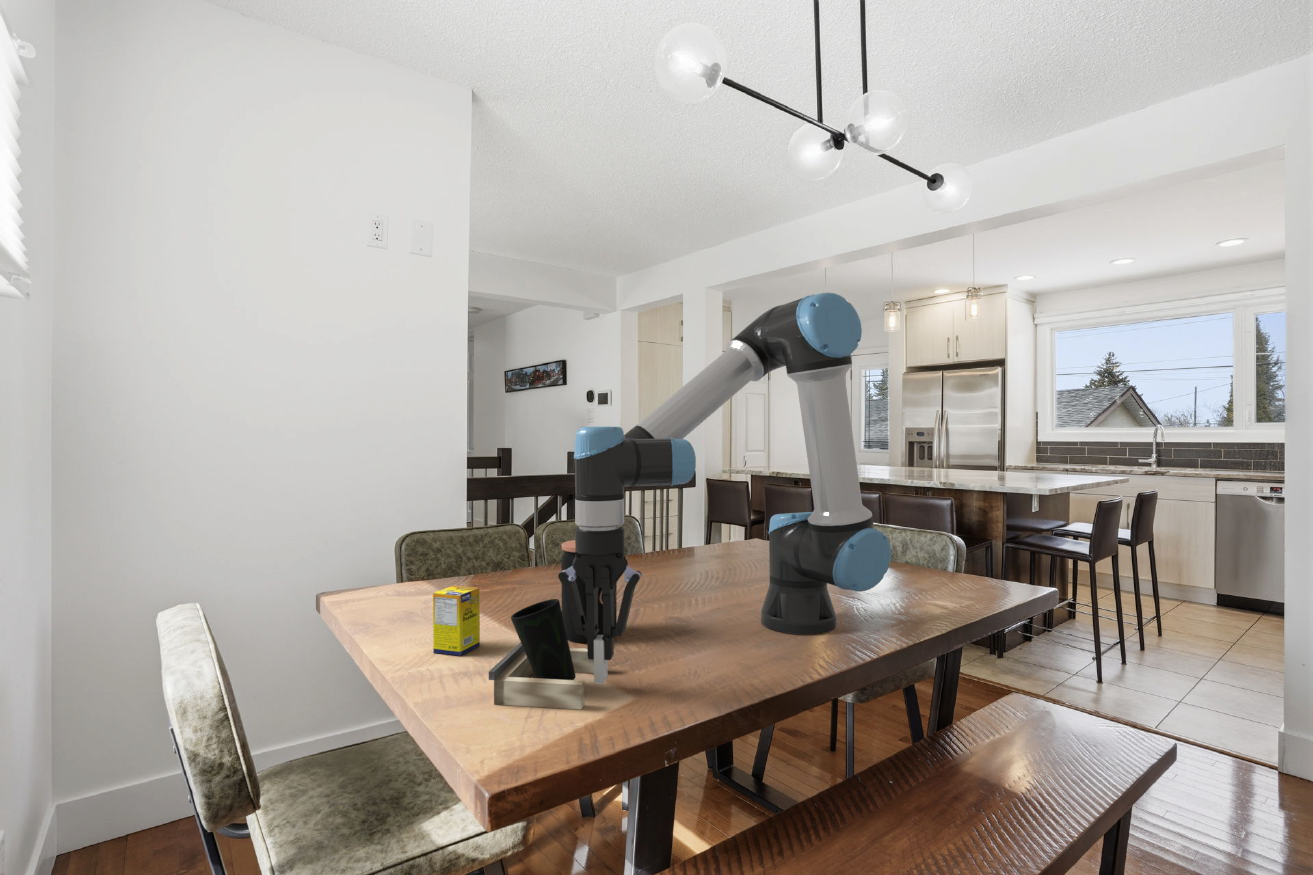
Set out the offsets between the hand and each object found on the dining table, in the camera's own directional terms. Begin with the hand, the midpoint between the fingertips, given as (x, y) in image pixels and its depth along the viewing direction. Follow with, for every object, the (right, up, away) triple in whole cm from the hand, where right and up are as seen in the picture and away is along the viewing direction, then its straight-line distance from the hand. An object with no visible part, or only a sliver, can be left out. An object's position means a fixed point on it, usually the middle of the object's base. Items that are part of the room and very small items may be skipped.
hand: (600, 679), depth 96 cm
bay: (-7, -1, +1) cm, 7 cm away
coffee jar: (-5, -2, +26) cm, 26 cm away
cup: (-7, -1, 0) cm, 7 cm away
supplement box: (-28, -2, +18) cm, 33 cm away
